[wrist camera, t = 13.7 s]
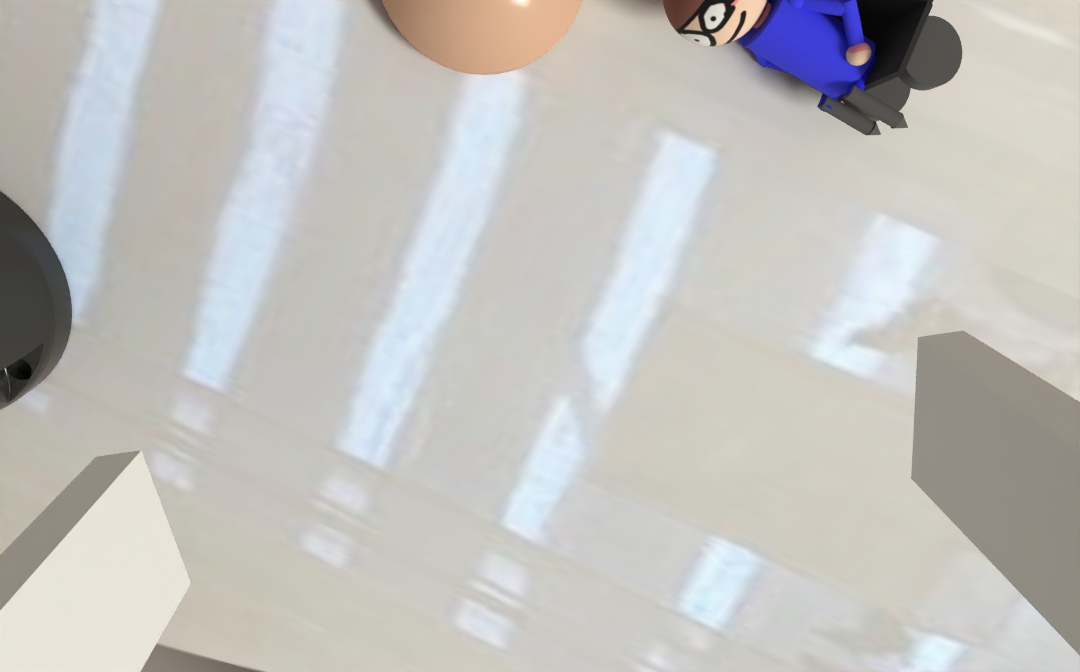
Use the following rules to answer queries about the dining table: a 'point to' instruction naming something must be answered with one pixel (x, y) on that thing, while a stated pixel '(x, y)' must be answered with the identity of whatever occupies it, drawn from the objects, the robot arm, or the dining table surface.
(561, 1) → the peach glossy dome
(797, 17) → the character figurine
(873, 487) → the dining table surface
